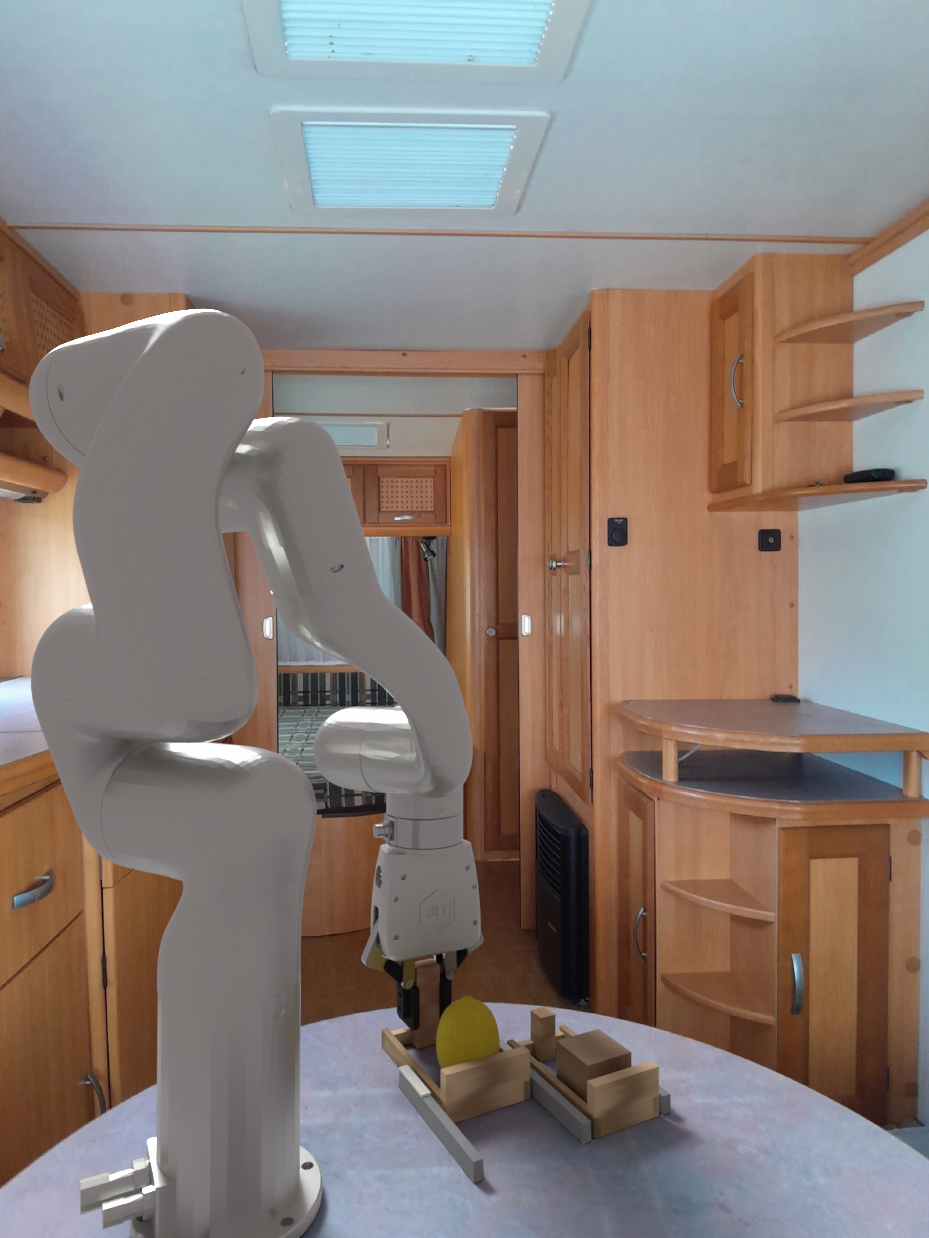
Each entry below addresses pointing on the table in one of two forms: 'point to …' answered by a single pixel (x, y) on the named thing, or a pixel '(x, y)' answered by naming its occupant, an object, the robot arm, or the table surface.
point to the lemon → (466, 1033)
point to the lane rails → (456, 1139)
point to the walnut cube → (589, 1059)
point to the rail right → (664, 1101)
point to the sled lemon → (465, 1083)
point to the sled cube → (596, 1081)
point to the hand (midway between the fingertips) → (424, 1018)
